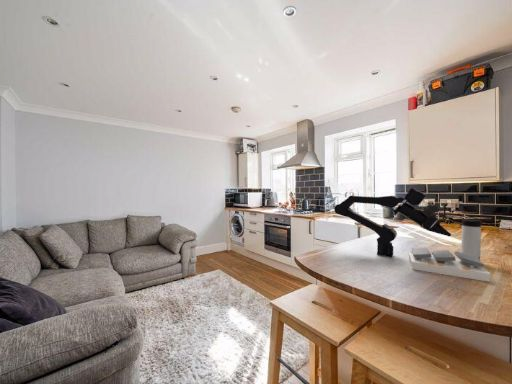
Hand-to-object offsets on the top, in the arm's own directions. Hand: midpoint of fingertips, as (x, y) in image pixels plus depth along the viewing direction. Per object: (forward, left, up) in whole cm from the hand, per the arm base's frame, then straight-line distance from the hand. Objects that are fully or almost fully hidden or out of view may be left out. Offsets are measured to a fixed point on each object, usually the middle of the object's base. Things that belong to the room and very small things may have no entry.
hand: (448, 235), depth 93 cm
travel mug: (+10, +13, -14) cm, 21 cm away
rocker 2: (-2, -4, -9) cm, 10 cm away
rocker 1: (-10, -4, -9) cm, 14 cm away
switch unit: (-2, -5, -14) cm, 15 cm away
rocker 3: (+5, -4, -9) cm, 11 cm away
